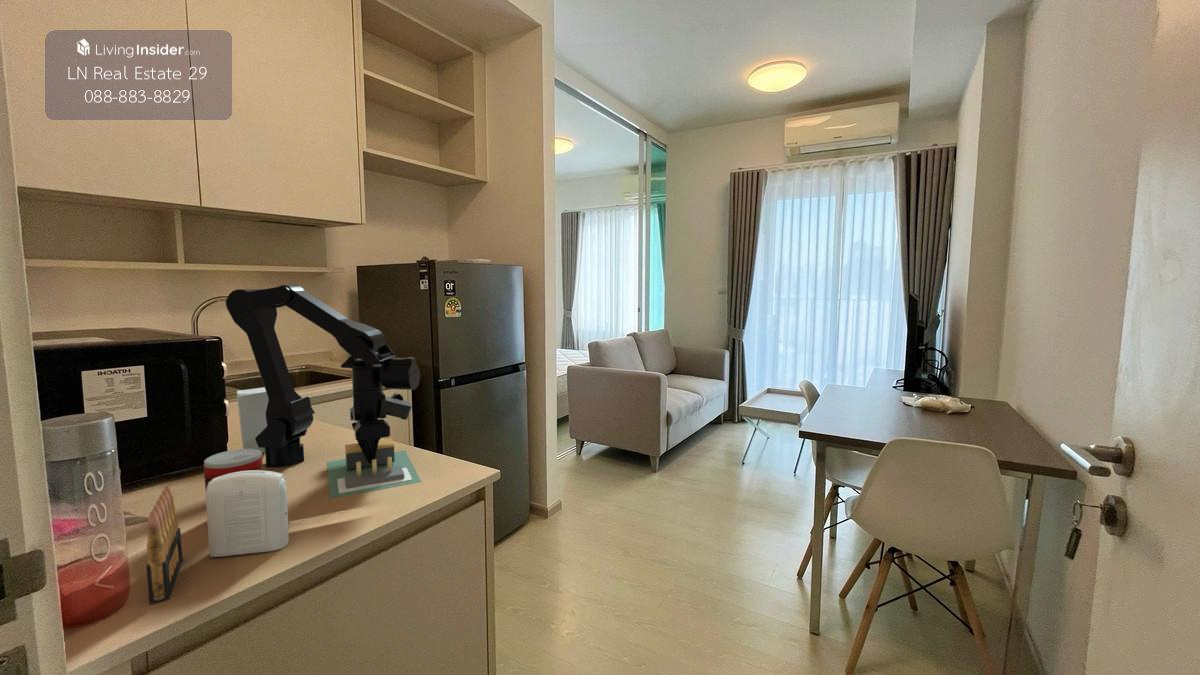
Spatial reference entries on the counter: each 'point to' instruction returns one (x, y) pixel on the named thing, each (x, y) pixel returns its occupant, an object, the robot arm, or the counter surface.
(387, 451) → the yellow and grey block
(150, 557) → the ammunition clip
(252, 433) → the skincare box
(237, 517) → the photo printer
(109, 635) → the counter surface
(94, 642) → the counter surface
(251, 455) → the canned food
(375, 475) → the board
